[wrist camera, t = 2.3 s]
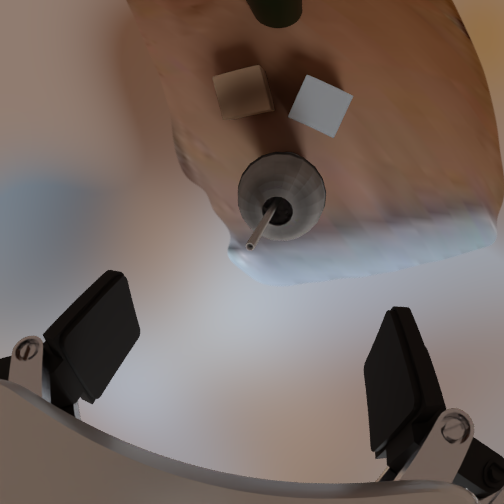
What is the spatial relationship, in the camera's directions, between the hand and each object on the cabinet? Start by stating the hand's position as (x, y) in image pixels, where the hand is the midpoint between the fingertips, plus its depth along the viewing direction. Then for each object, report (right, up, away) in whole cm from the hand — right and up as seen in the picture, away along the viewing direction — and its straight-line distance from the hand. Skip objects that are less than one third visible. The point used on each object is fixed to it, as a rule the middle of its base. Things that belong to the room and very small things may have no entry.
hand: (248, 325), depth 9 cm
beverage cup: (+5, +12, +23) cm, 27 cm away
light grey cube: (+8, +19, +19) cm, 28 cm away
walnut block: (0, +21, +20) cm, 29 cm away
